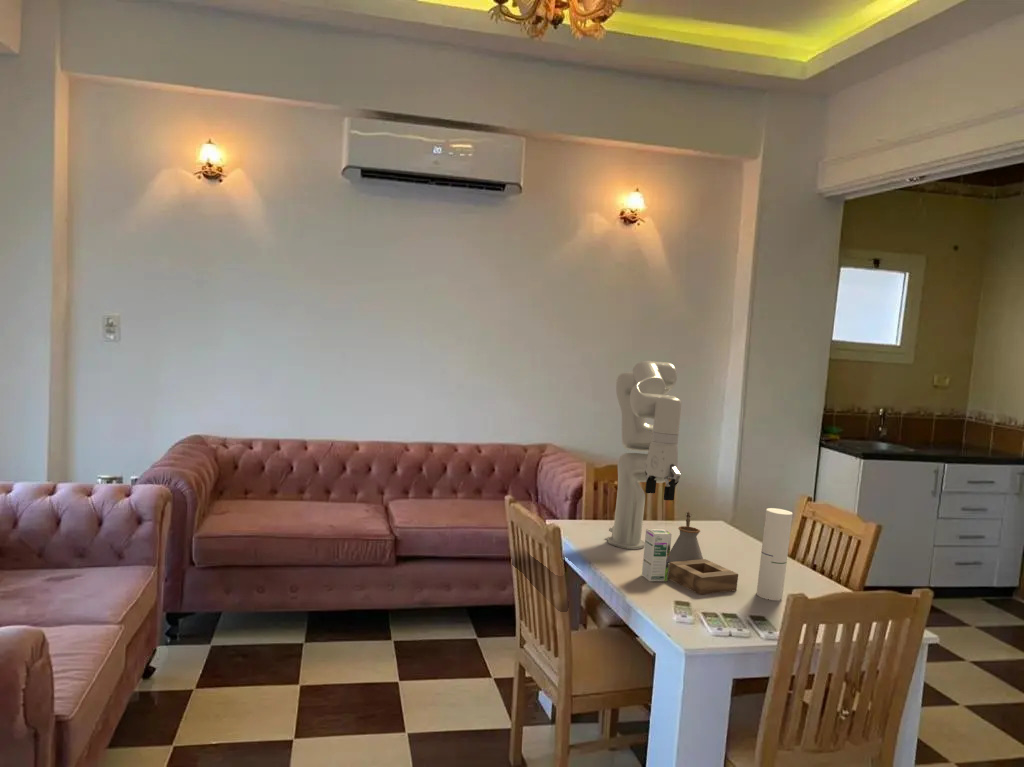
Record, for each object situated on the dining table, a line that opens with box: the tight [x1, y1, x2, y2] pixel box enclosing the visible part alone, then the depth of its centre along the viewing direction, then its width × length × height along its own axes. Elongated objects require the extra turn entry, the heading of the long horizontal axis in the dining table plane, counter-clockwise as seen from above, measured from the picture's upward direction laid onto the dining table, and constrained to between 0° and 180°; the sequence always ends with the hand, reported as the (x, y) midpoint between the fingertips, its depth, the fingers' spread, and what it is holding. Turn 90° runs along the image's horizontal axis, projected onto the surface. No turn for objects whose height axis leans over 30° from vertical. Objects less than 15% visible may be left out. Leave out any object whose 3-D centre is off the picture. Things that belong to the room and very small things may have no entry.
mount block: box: [667, 558, 739, 596], centre depth 224 cm, size 14×14×5 cm
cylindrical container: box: [756, 507, 794, 601], centre depth 218 cm, size 7×7×25 cm
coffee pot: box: [669, 511, 704, 564], centre depth 242 cm, size 21×12×15 cm, turn 168°
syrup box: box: [641, 528, 672, 582], centre depth 225 cm, size 6×6×14 cm
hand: (659, 496), depth 223 cm, fingers open, 9 cm apart
